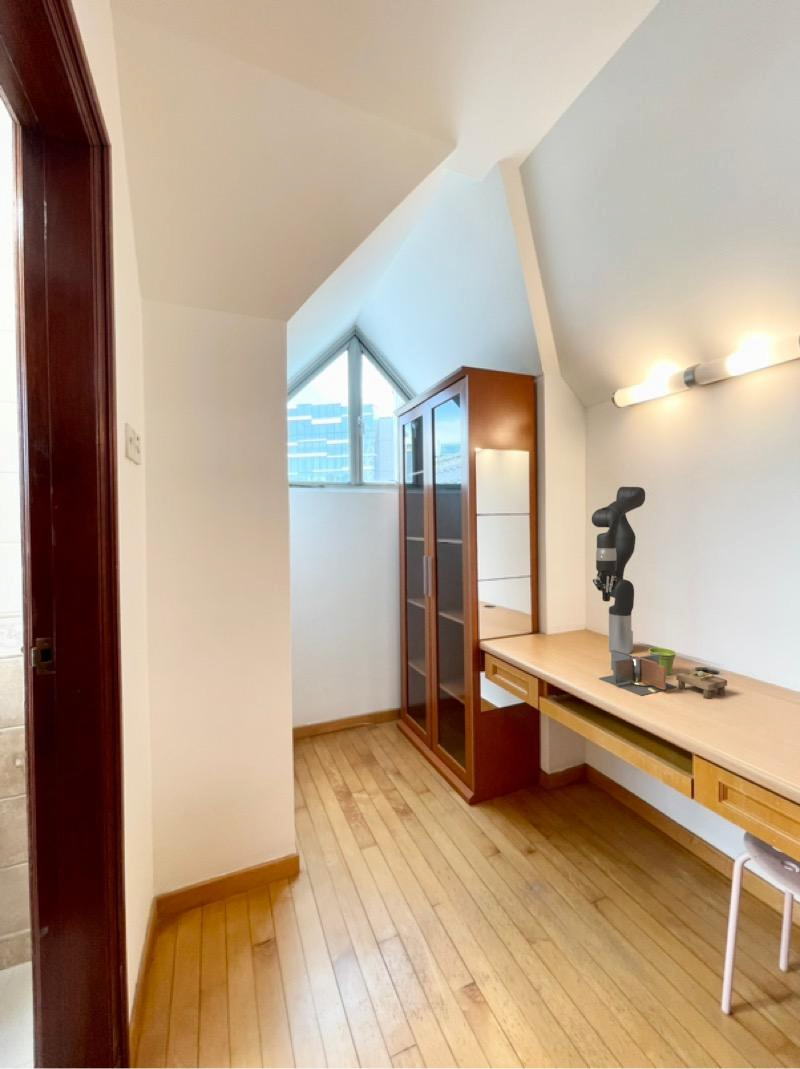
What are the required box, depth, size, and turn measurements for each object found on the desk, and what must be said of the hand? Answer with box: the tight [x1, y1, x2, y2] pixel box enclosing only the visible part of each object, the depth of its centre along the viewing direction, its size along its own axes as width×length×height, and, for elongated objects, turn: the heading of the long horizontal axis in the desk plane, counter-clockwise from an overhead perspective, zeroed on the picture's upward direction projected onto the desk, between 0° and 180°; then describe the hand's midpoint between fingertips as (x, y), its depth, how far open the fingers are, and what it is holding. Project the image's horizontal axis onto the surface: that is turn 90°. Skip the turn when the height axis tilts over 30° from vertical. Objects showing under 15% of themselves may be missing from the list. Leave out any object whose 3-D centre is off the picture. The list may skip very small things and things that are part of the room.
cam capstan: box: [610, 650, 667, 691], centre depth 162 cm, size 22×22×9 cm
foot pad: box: [598, 674, 678, 697], centre depth 161 cm, size 18×19×1 cm
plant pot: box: [648, 647, 678, 676], centre depth 171 cm, size 9×9×9 cm
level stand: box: [675, 670, 728, 700], centre depth 153 cm, size 10×11×7 cm
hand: (606, 601), depth 179 cm, fingers closed
